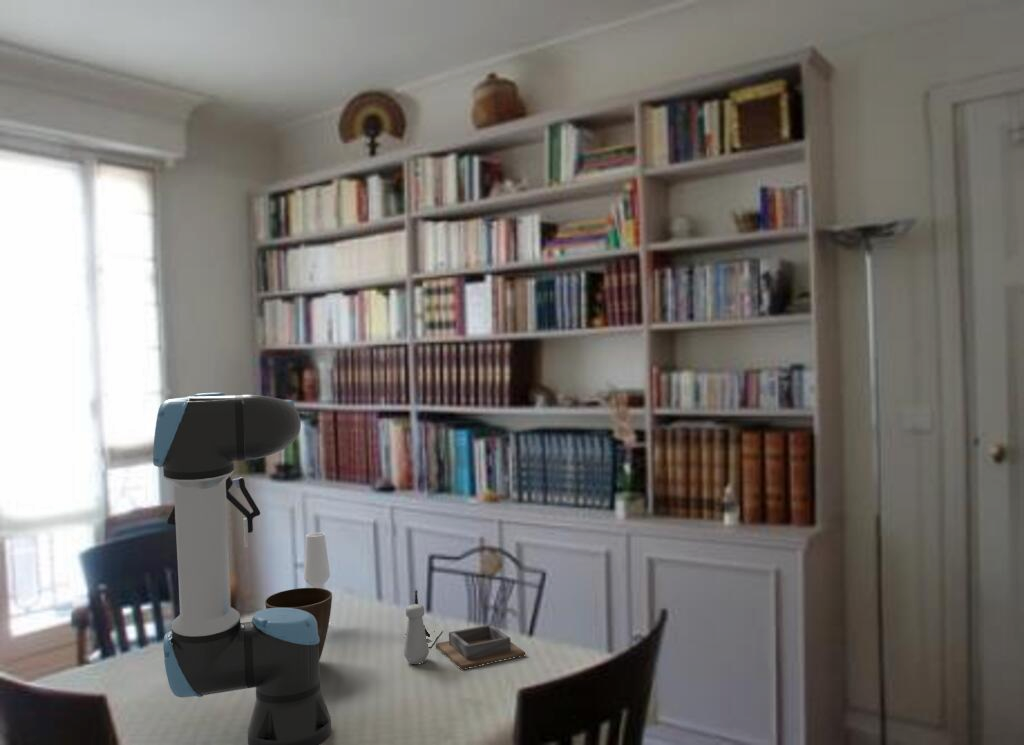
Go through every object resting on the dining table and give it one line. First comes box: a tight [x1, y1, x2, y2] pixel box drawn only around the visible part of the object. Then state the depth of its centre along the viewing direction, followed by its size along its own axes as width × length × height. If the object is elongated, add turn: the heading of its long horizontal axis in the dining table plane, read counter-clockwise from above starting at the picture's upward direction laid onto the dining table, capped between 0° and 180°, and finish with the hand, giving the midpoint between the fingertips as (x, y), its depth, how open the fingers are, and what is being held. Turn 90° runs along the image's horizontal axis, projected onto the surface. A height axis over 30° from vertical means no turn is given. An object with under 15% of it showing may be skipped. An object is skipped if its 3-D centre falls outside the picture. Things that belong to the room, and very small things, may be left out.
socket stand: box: [435, 623, 526, 670], centre depth 192 cm, size 16×16×4 cm
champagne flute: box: [303, 532, 332, 627], centre depth 215 cm, size 7×7×24 cm
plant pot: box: [264, 587, 333, 662], centre depth 187 cm, size 15×15×16 cm
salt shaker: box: [403, 603, 430, 665], centre depth 187 cm, size 6×6×13 cm
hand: (215, 550), depth 189 cm, fingers open, 13 cm apart
